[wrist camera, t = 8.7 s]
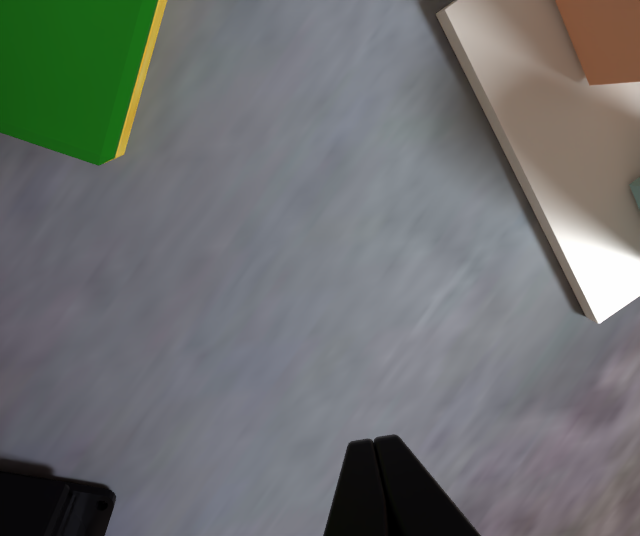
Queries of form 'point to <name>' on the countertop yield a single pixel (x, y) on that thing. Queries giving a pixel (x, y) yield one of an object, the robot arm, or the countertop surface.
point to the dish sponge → (75, 72)
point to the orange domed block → (605, 38)
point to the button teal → (636, 190)
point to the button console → (559, 140)
